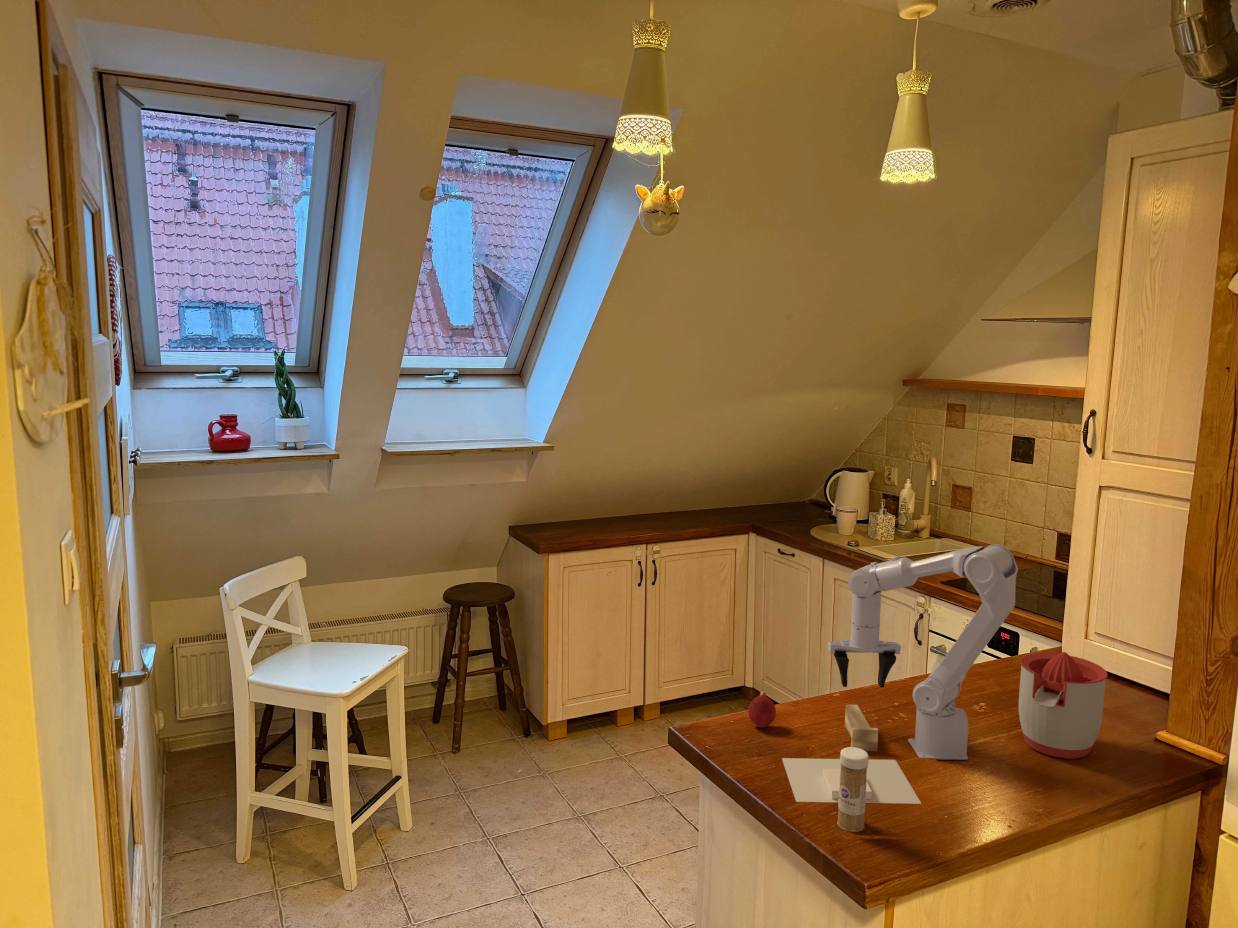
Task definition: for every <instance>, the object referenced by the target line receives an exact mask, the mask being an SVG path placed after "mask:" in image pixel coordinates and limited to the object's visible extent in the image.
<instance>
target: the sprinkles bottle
mask: <svg viewBox="0 0 1238 928" xmlns="http://www.w3.org/2000/svg"><path fill="white" fill-rule="evenodd" d="M839 754H840V756H839V759H840V763H841V772H840V789H839V801H838V803H837V804H838V805H837V806H838V813H837V822H836V823H837V826H838V827H839V828H840V829H842V830H844V831H846V832H850V833H857V832H861V831H863V830H864V829H865V826H866V825H865V812H866V803H865V801H866V775H867V767H868V759H869V754H868V751H864V750H862V749H859V748H855V747H851V746H849V747H844V748H843V749H841V750H840V753H839Z"/></svg>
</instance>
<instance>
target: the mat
mask: <svg viewBox="0 0 1238 928" xmlns="http://www.w3.org/2000/svg"><path fill="white" fill-rule="evenodd" d="M781 760H782V764H783V767H784V769H785V772H786V775H787V778H788V782H789V784H790V787H791V792H792V794H793V796H794V799H795V802H796V803H837V804H838V801H839V799H832V798H831V795H830V793H829V791H828V788H827V786H826V783H825V781H824V778H823V769H841V763H840V758H803V757H802V758H793V757H792V758H790V757H782V758H781ZM866 781H867V783H868V785H869V787H870V789H871V791H872V798H871V799H866V801H865V804H900V805H901V804H904V805H905V804H906V805H907V804H911V805H912V804H913V805H922V802H921V800H920V799H919V797H918V795H917V794H916V792H915V791H914V789H913V787H912V785H911V783H910V782H909V780H908V779H907V777H906V775H905V774H904V772H903V770H902V769H901V767H900V765H899V763H898V762H897V760H896V759H869V758H868V767H867V775H866Z"/></svg>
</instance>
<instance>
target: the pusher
mask: <svg viewBox="0 0 1238 928" xmlns="http://www.w3.org/2000/svg"><path fill="white" fill-rule="evenodd" d="M844 713H845V717H844V728H846V730H847V732H848V734H849V736H850V737H851V742H850V747H855V748H859V749H862V750H864V751H866V752H878V743H879V742H878V741H879V729H878V728H877V727H871V725H869V723H868V720H866V717H865V716H864V713H862V710H861V709H860V707H859V705H858V704H845V712H844Z"/></svg>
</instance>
